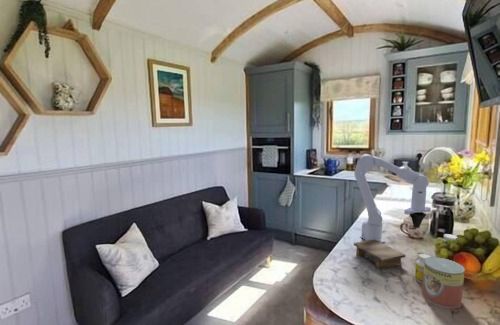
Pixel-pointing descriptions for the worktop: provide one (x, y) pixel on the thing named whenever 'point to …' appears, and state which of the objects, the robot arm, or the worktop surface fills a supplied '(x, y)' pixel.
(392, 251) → the overhang
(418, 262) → the supplement bottle
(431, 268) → the canned food
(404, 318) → the worktop surface
